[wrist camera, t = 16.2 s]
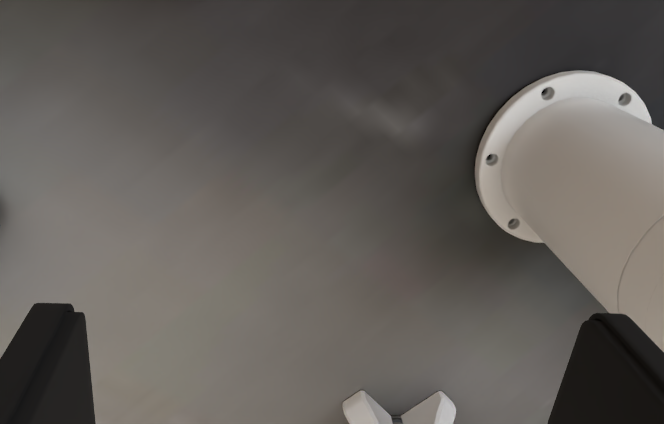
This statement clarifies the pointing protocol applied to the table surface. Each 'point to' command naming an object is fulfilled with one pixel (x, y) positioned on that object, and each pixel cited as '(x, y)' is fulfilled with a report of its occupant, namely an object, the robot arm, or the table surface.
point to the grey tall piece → (422, 420)
